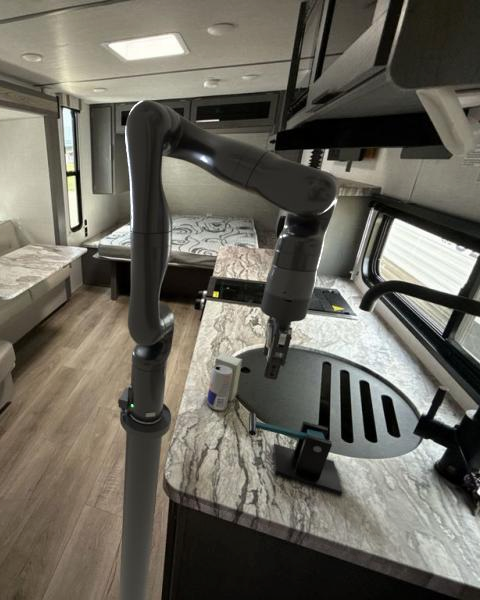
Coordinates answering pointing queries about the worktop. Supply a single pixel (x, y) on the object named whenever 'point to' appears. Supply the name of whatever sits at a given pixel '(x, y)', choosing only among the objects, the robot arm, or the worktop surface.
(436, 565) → the worktop surface
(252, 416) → the black and teal hammer
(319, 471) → the black lever stand
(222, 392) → the energy drink
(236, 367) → the cosmetic box
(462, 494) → the worktop surface
